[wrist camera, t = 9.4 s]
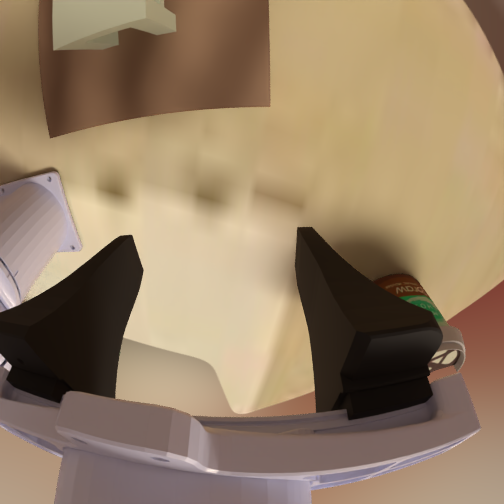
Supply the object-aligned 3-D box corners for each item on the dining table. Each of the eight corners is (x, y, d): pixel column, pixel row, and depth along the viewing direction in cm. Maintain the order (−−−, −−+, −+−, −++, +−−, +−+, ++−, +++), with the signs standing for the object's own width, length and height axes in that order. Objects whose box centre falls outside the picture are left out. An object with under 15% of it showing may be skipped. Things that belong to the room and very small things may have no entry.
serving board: (60, 132, 17) (50, 138, 16) (54, -36, 7) (43, -39, 6) (268, 104, 17) (270, 106, 16) (263, -87, 7) (264, -96, 6)
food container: (445, 260, 25) (491, 332, 17) (427, 302, 29) (461, 370, 21) (341, 268, 25) (373, 361, 17) (332, 313, 29) (352, 398, 21)
